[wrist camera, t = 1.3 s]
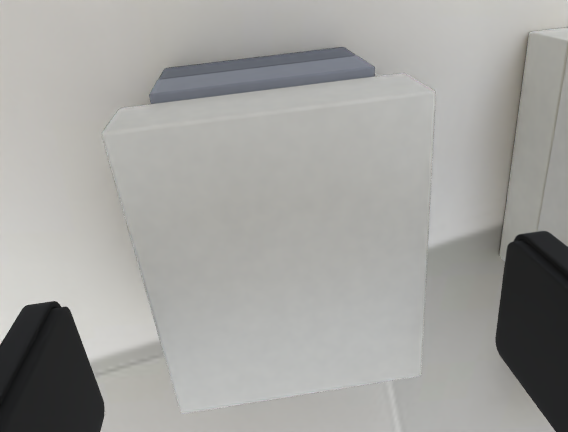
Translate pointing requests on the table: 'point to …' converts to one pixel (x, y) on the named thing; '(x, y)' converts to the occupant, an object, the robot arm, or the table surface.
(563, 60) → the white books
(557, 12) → the table surface
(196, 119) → the white book
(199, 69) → the grey-blue block
